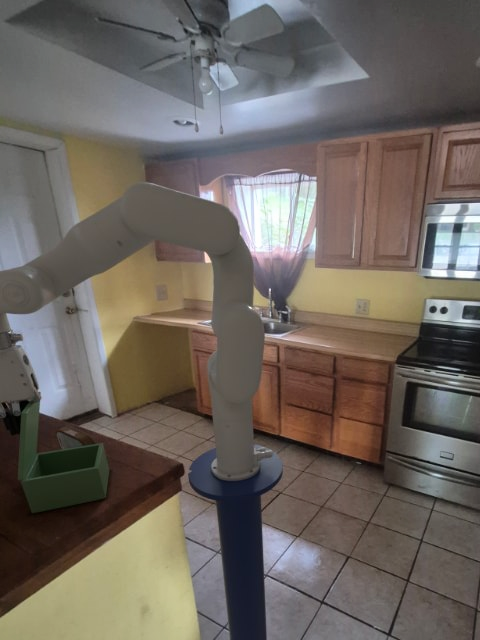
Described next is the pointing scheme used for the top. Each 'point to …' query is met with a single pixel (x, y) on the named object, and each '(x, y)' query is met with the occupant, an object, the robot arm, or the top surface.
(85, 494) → the chest
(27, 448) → the lid
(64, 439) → the tin
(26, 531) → the top surface
